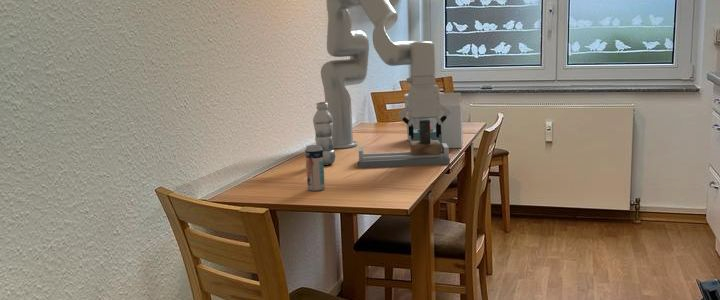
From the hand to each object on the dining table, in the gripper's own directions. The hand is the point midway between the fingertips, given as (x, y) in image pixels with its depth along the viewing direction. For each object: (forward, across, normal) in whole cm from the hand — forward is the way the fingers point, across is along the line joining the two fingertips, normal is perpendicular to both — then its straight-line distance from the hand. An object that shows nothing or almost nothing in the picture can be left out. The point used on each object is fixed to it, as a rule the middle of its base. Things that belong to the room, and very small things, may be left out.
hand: (425, 137), depth 224 cm
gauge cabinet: (+8, +1, +13) cm, 15 cm away
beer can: (+8, -32, -34) cm, 47 cm away
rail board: (+8, -7, 0) cm, 11 cm away
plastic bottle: (+8, -32, +2) cm, 33 cm away
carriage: (+5, 0, 0) cm, 5 cm away
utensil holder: (+8, +3, +45) cm, 46 cm away
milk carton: (+8, +11, +26) cm, 29 cm away
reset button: (+3, +1, +13) cm, 13 cm away
